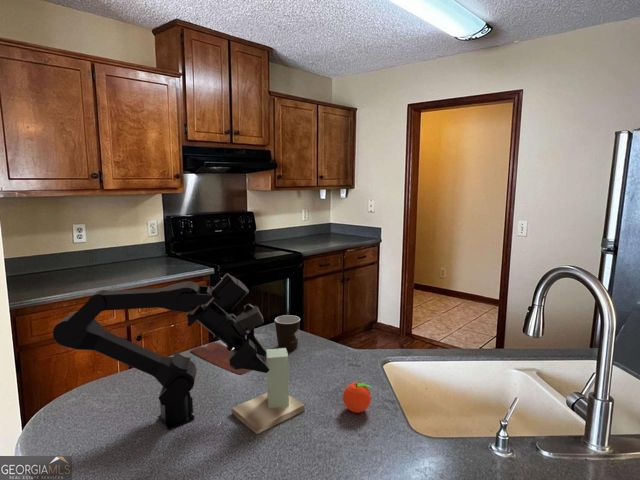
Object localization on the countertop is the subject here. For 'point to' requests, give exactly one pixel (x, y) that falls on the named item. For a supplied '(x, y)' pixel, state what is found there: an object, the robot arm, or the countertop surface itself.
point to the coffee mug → (287, 331)
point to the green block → (277, 378)
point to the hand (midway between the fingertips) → (266, 362)
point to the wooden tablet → (217, 356)
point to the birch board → (265, 413)
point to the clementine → (357, 397)
